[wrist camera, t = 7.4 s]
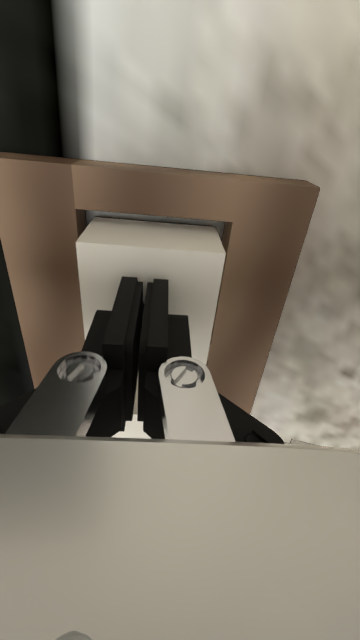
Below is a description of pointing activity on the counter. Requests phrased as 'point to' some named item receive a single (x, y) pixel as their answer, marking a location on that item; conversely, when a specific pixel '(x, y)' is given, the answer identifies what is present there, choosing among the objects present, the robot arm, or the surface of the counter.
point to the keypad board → (159, 200)
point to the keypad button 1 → (153, 269)
